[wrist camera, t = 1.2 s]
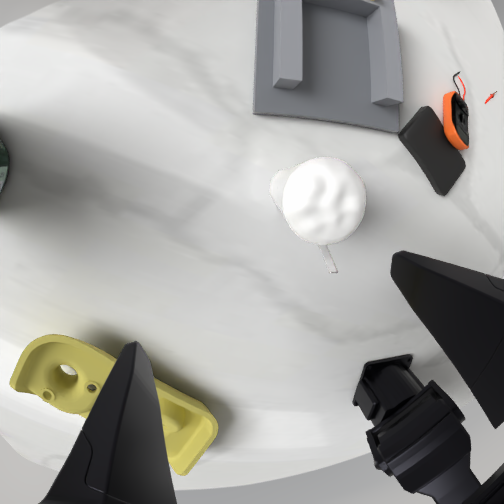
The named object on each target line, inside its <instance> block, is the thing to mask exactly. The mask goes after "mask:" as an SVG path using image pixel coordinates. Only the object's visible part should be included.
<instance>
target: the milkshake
mask: <svg viewBox="0 0 504 504" xmlns="http://www.w3.org/2000/svg"><path fill="white" fill-rule="evenodd" d="M269 195H270V196H271V198H272V199H273V201H274V203H275V204H276V206H277V207H278V208H279V210H280V211H281V212H282V214H283V216H284V218H285V219H286V221H287V223H288V224H289V226H290V228H291V229H292V230H293V232H294V233H295V234H296V235H297V236H298V237H300V238H301V239H302V240H304V241H306V242H309V243H312V244H316V245H319V248H320V250H321V253H322V256H323V258H324V261H325V263H326V266H327V268H328V271H329V273H338V271H337V268H336V266H335V263H334V261H333V258H332V256H331V254H330V251H329V249H328V247H327V245H331V244H335V243H339V242H341V241H343V240H345V239H346V238H348V237H349V236H350V235H351V234H352V233H353V232H354V231H355V230H356V229H357V227H358V226H359V224H360V223H361V221H362V219H363V216H364V212H365V207H366V199H367V195H366V188H365V184H364V182H363V180H362V178H361V177H360V175H359V174H358V173H357V172H356V171H355V170H354V169H353V168H352V167H351V166H350V165H349V164H347V163H346V162H344V161H342V160H340V159H337V158H332V157H317V158H313V159H310V160H308V161H305V162H302V163H300V164H297V165H295V166H292V167H289V168H285V169H281V170H278V171H277V173H276V174H275V175H274V176H273V177H272V179H271V180H270V187H269Z"/></svg>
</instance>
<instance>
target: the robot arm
mask: <svg viewBox="0 0 504 504" xmlns="http://www.w3.org/2000/svg"><path fill="white" fill-rule="evenodd" d="M390 273H391V277H392V279H393V281H394V282H395V284H396V285H397V287H398V288H399V290H400V291H401V293H402V294H403V296H404V297H405V299H406V300H407V302H408V304H409V305H410V307H411V308H412V309H413V311H414V312H415V313H416V315H417V316H418V317H419V319H420V320H421V321H422V322H423V324H424V325H425V326H426V328H427V329H428V330H429V332H430V333H431V334H432V336H433V337H434V338H435V340H436V341H437V342H438V344H439V345H440V346H441V348H442V349H443V351H444V352H445V353H446V355H447V356H448V358H449V359H450V360H451V362H452V363H453V365H454V366H455V368H456V369H457V370H458V372H459V373H460V375H461V376H462V378H463V379H464V381H465V382H466V384H467V385H468V387H469V388H470V390H471V392H472V393H473V395H474V396H475V398H476V399H477V401H478V403H479V404H480V406H481V407H482V409H483V411H484V412H485V414H486V415H487V417H488V419H489V421H490V422H491V424H492V425H493V427H494V428H495V429H496V428H497V427H498V426H500V425H501V424H502V423H503V422H504V279H501V278H497V277H494V276H491V275H487V274H486V275H485V274H484V273H481V272H477V271H474V270H471V269H467V268H464V267H460V266H457V265H454V264H450V263H447V262H443V261H440V260H436V259H432V258H429V257H425V256H422V255H418V254H414V253H411V252H407V251H399V252H397V253H395V254H393V256H392V263H391V272H390ZM412 359H413V357H412V356H411V355H404V356H400V357H395V358H389V359H384V360H379V361H373V362H368V363H366V364H365V365H364V368H363V371H362V374H361V378H360V381H359V383H358V386H357V389H356V392H355V395H354V399H353V402H352V403H353V405H354V406H359V407H360V408H361V410H362V412H363V414H364V416H365V417H366V419H367V420H371V421H372V423H373V425H374V426H375V427H373V428H372V429H369V430H368V431H366V435H367V437H368V438H367V441H368V443H369V446H370V449H371V452H372V454H373V458H374V465H375V467H376V469H378V470H382V471H384V472H385V473H386V474H387V475H388V476H392V475H394V476H395V477H396V479H397V480H398V482H399V483H400V484H401V486H402V487H403V489H404V490H406V491H408V492H410V493H413V494H414V493H416V492H417V493H420V494H424V495H427V496H430V497H432V498H433V499H434V501H435V502H436V504H504V463H503V464H502V466H500V467H499V469H498V470H497V471H496V472H495V473H494V474H493V475H492V476H491V477H490V478H489V479H488V480H487V481H486V482H485V483H483V484H482V485H481V484H480V482H479V481H478V479H477V478H476V476H475V475H474V474H473V472H472V471H471V469H470V451H471V440H470V435H469V434H468V433H467V431H466V430H465V428H464V427H463V426H462V424H461V423H462V422H463V421H464V420H465V417H464V415H463V413H462V412H461V410H460V409H459V407H458V406H457V405H456V404H455V402H454V401H453V400H452V399H451V398H450V397H449V396H448V395H447V394H446V393H445V392H444V391H443V390H442V389H441V388H440V387H439V386H438V385H437V384H436V383H435V382H434V381H433V380H431V381H430V382H429V384H428V385H427V386H425V387H424V385H423V384H422V383H421V382H420V381H419V379H418V378H417V377H416V376H415V375H414V374H413V372H412V371H411V370H410V369H409V367H410V364H411V362H412ZM82 430H83V431H82ZM82 430H81V431H80V433H79V435H78V438H77V440H76V442H75V444H74V446H73V448H72V450H71V452H70V454H69V456H68V458H67V459H66V461H65V463H64V465H63V467H62V468H61V470H60V472H59V474H58V476H57V477H56V479H55V481H54V483H53V485H52V486H51V488H50V490H49V492H48V493H47V495H46V496H45V498H44V499H43V500H42V501H41V502H40V503H38V504H177V502H176V497H175V492H174V488H173V483H172V478H171V473H170V467H169V462H168V456H167V450H166V444H165V438H164V431H163V424H162V417H161V409H160V403H159V399H158V394H157V390H156V386H155V381H154V377H153V372H152V367H151V363H150V360H149V357H148V356H147V354H146V353H145V351H144V350H143V348H142V346H141V345H140V343H139V342H137V341H134V342H131V343H127V344H125V346H124V347H123V349H122V351H121V353H120V355H119V357H118V358H117V360H116V362H115V364H114V366H113V368H112V370H111V371H110V373H109V375H108V377H107V379H106V381H105V383H104V385H103V387H102V389H101V391H100V393H99V395H98V397H97V399H96V401H95V403H94V405H93V407H92V409H91V411H90V413H89V415H88V417H87V419H86V421H85V423H84V425H83V427H82Z"/></svg>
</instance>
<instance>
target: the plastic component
mask: <svg viewBox="0 0 504 504" xmlns="http://www.w3.org/2000/svg"><path fill="white" fill-rule="evenodd" d="M116 360H117V359H116V358H114V357H113V356H111V355H110V354H108V353H106V352H104V351H103V350H101V349H99V348H97V347H95V346H93V345H91V344H88V343H86V342H83V341H81V340H78V339H75V338H72V337H68V336H64V335H57V334H51V335H45V336H42V337H39V338H37V339H35V340H34V341H32V342H31V343H30V344H29V345H28V346H27V347H26V348H25V350H24V351H23V352H22V354H21V356H20V358H19V360H18V363H17V365H16V367H15V370H14V372H13V375H12V377H11V379H10V386H11V387H12V388H13V389H14V390H16V391H17V392H24V393H30V394H35V395H38V396H39V397H40V398H42V399H43V401H45V402H47V403H49V404H51V405H52V406H54V407H56V408H57V409H59V410H61V411H63V412H66V413H71V414H79V415H81V416H82V417H84V418H86V419H87V417H88V415H89V413H90V411H91V409H92V407H93V405H94V403H95V401H96V399H97V397H98V395H99V393H100V391H101V389H102V387H103V385H104V383H105V381H106V379H107V377H108V375H109V373H110V371H111V370H112V368H113V366H114V364H115V362H116ZM60 365H68V366H70V367H72V368H73V369H74V370H75V371H76V372H77V374H76V375H68V374H67V373H65V372H64V371H63V370H62V369H61V366H60ZM154 381H155V386H156V390H157V394H158V399H159V403H160V409H161V417H162V424H163V431H164V438H165V444H166V450H167V456H168V462H169V463H170V465H171V466H172V468H173V469H174V471H175V472H176V474H178V475H181V476H185V475H187V474H188V473H189V471H190V470H191V469H192V468H193V466H194V465H195V464H196V463H197V461H198V460H199V459H200V457H201V456H202V455H203V454H204V452H205V451H206V450H207V448H208V447H209V446H210V444H211V443H212V442H213V440H214V439H215V438H216V436H217V433H218V423H217V421H216V419H215V418H214V416H213V415H212V414H211V412H210V411H209V410H208V408H207V407H206V406H205V405H204V404H203V403H202V402H200V401H198V400H196V399H194V398H192V397H190V396H188V395H186V394H184V393H182V392H180V391H178V390H176V389H174V388H173V387H171V386H169V385H167V384H165V383H163V382H162V381H160V380H158V379H156V378H154ZM90 384H93V385H95V386H96V388H97V389H96V390H90V389H89V388H88V385H90Z"/></svg>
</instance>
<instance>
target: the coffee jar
mask: <svg viewBox="0 0 504 504" xmlns="http://www.w3.org/2000/svg"><path fill="white" fill-rule="evenodd" d="M8 168H9V156H8V152H7V149H6V147H5V145H4V144H3V142H2V140H1V139H0V194H1V191H2V189H3V187H4V184H5V181H6V178H7V174H8Z"/></svg>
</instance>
